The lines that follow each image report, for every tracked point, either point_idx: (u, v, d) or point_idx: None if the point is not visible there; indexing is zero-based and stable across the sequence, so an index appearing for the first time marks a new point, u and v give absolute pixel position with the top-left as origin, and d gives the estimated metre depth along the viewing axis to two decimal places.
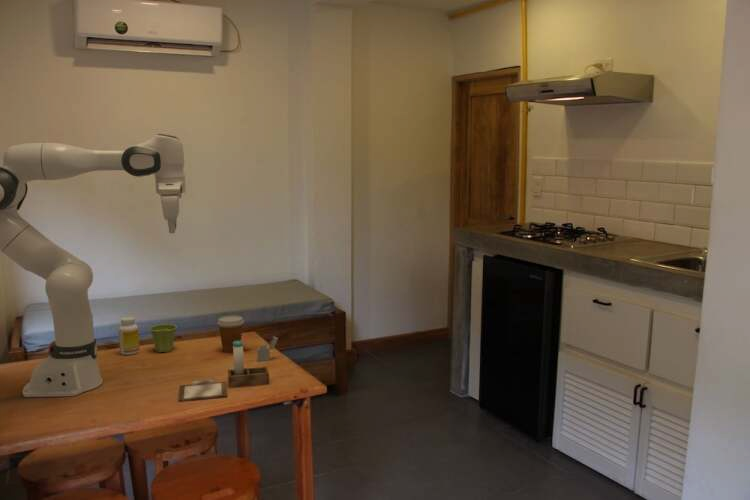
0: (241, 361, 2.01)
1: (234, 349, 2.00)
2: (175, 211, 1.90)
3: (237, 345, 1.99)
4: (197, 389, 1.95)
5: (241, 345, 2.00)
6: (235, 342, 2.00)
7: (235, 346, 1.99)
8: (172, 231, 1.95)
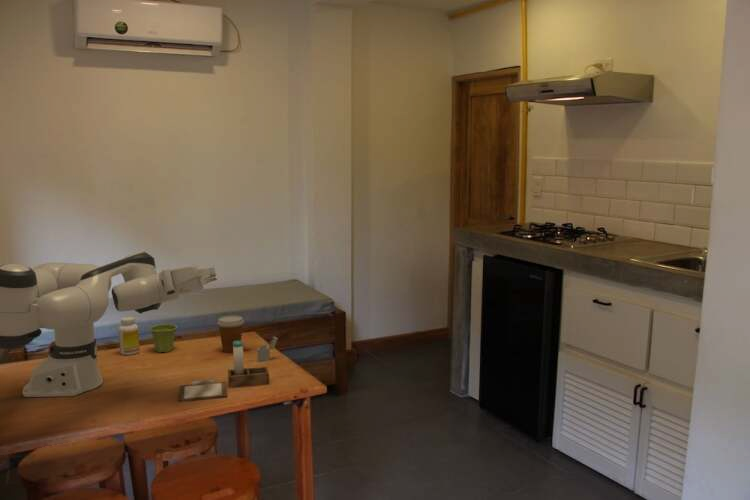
0: (241, 361, 2.01)
1: (234, 349, 2.00)
2: (187, 267, 1.81)
3: (237, 345, 1.99)
4: (197, 389, 1.95)
5: (241, 345, 2.00)
6: (235, 342, 2.00)
7: (235, 346, 1.99)
8: (212, 269, 1.87)
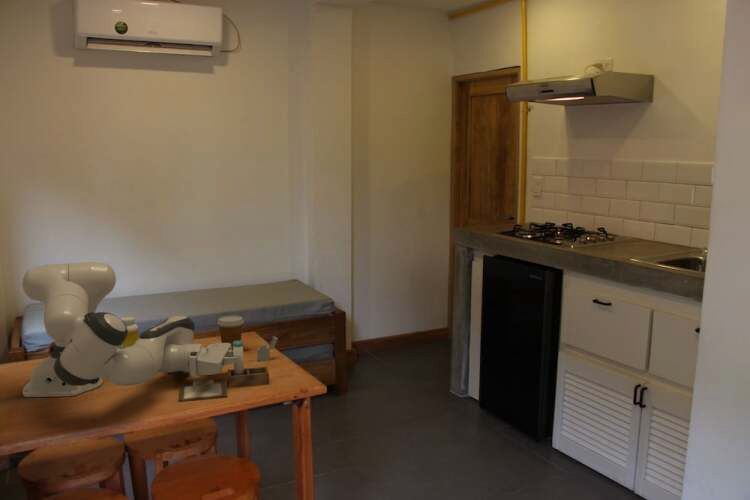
0: (241, 361, 2.01)
1: (234, 349, 2.00)
2: (211, 363, 1.91)
3: (237, 345, 1.99)
4: (197, 389, 1.95)
5: (241, 345, 2.00)
6: (235, 342, 2.00)
7: (235, 346, 1.99)
8: (237, 359, 1.98)
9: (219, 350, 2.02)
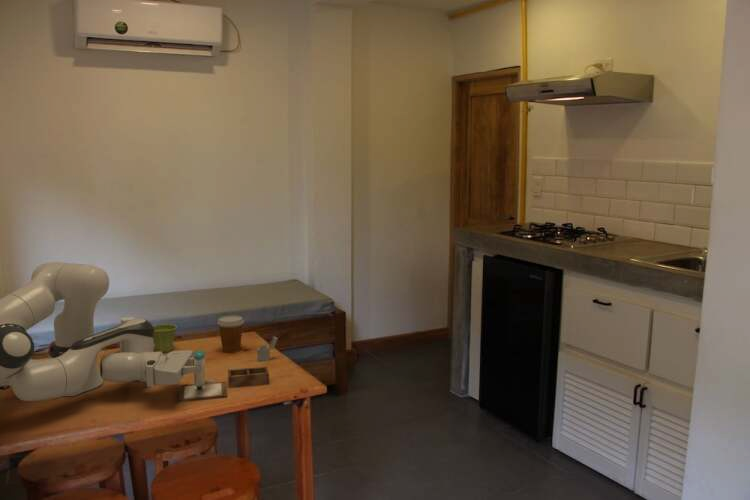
0: (202, 371, 1.91)
1: (195, 360, 1.89)
2: (169, 372, 1.81)
3: (198, 358, 1.88)
4: (197, 389, 1.95)
5: (202, 358, 1.89)
6: (196, 354, 1.89)
7: (196, 358, 1.88)
8: (197, 368, 1.88)
9: (179, 358, 1.92)
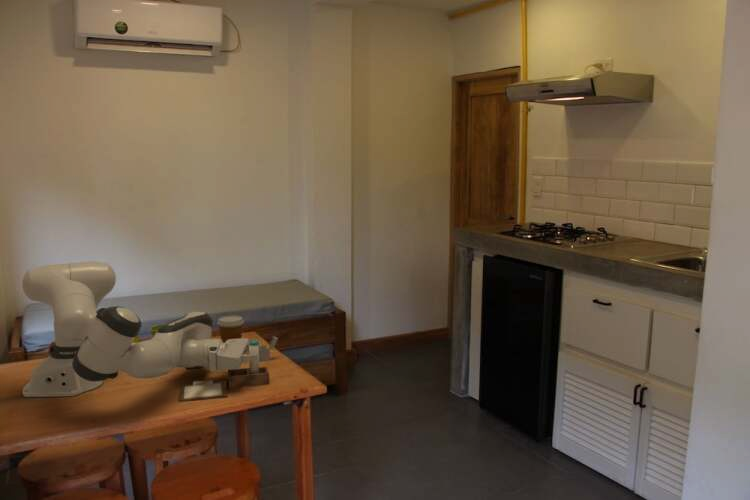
0: (257, 360, 2.02)
1: (250, 348, 2.01)
2: (231, 358, 1.92)
3: (253, 344, 2.00)
4: (197, 389, 1.95)
5: (257, 344, 2.01)
6: (251, 341, 2.01)
7: (251, 345, 2.01)
8: (255, 357, 1.97)
9: (238, 345, 2.03)
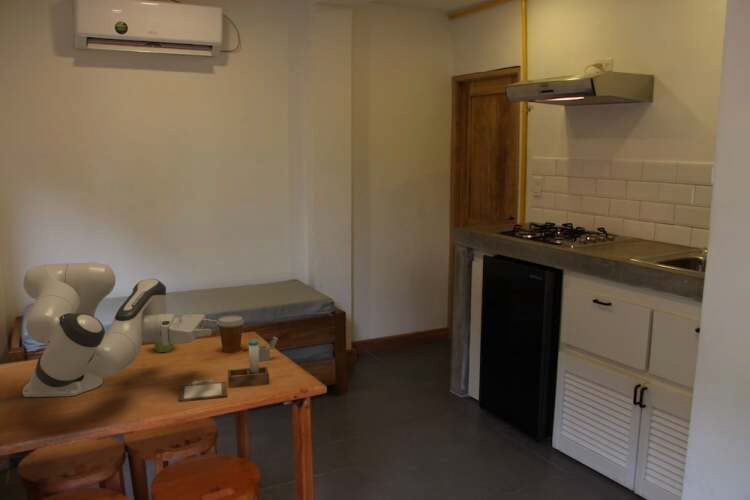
0: (256, 360, 2.02)
1: (250, 348, 2.01)
2: (183, 332, 1.90)
3: (252, 344, 2.00)
4: (197, 389, 1.95)
5: (257, 344, 2.01)
6: (251, 341, 2.01)
7: (251, 345, 2.01)
8: (208, 332, 1.95)
9: (192, 320, 2.02)
